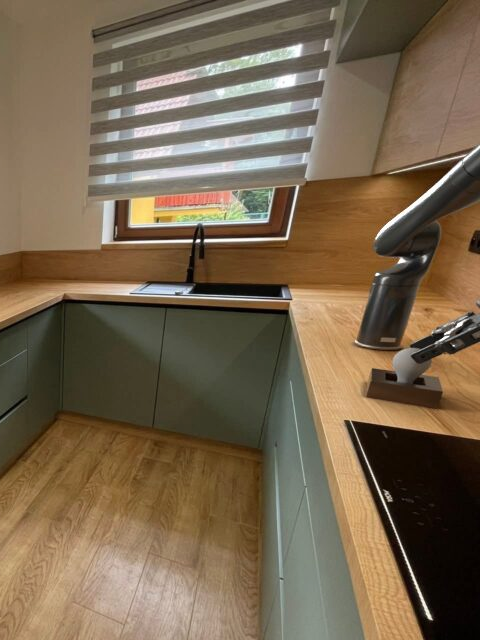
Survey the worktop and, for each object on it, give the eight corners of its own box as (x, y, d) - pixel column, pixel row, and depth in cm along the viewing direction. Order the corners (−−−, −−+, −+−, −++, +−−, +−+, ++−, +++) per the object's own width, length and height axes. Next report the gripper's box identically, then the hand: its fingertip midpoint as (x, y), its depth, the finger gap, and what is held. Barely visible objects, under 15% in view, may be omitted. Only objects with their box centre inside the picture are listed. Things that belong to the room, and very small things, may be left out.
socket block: (367, 382, 95) (371, 367, 94) (432, 392, 88) (438, 376, 87) (365, 396, 88) (370, 380, 87) (436, 408, 82) (443, 391, 80)
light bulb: (409, 391, 90) (425, 345, 86) (425, 401, 85) (442, 353, 81) (377, 389, 91) (391, 344, 88) (391, 398, 87) (406, 351, 83)
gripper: (502, 280, 79) (398, 332, 91) (518, 291, 70) (399, 347, 81) (535, 311, 78) (425, 360, 89) (556, 326, 68) (429, 379, 80)
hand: (413, 354), depth 85 cm, fingers open, 8 cm apart
